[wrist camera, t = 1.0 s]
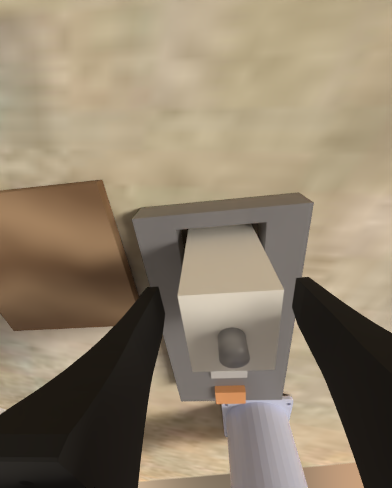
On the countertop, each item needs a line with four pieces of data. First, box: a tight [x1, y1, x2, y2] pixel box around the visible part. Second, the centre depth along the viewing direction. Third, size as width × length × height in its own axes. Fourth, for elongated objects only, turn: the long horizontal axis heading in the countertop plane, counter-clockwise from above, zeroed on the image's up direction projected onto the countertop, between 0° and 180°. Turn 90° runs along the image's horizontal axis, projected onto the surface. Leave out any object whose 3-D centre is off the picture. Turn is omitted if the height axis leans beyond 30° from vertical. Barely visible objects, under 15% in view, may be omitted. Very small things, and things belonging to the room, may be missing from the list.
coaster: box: [0, 180, 139, 331], centre depth 16 cm, size 12×12×1 cm
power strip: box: [132, 193, 314, 404], centre depth 17 cm, size 20×10×3 cm, turn 6°
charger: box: [178, 223, 284, 372], centre depth 12 cm, size 5×4×8 cm
